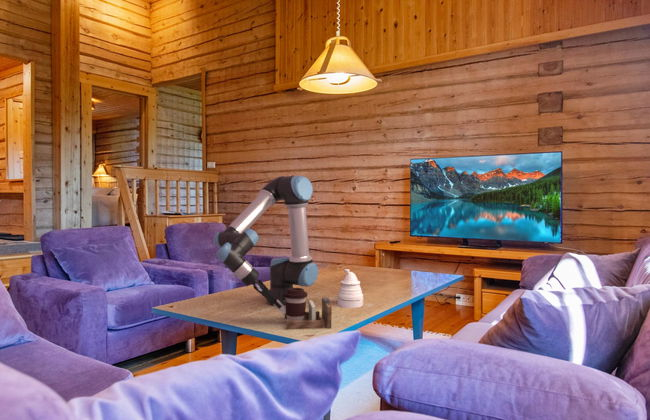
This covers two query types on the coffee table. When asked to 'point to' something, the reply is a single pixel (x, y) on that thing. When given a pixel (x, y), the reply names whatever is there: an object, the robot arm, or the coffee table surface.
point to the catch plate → (312, 310)
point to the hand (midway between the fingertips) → (285, 312)
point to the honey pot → (350, 292)
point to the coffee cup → (295, 304)
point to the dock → (314, 323)
